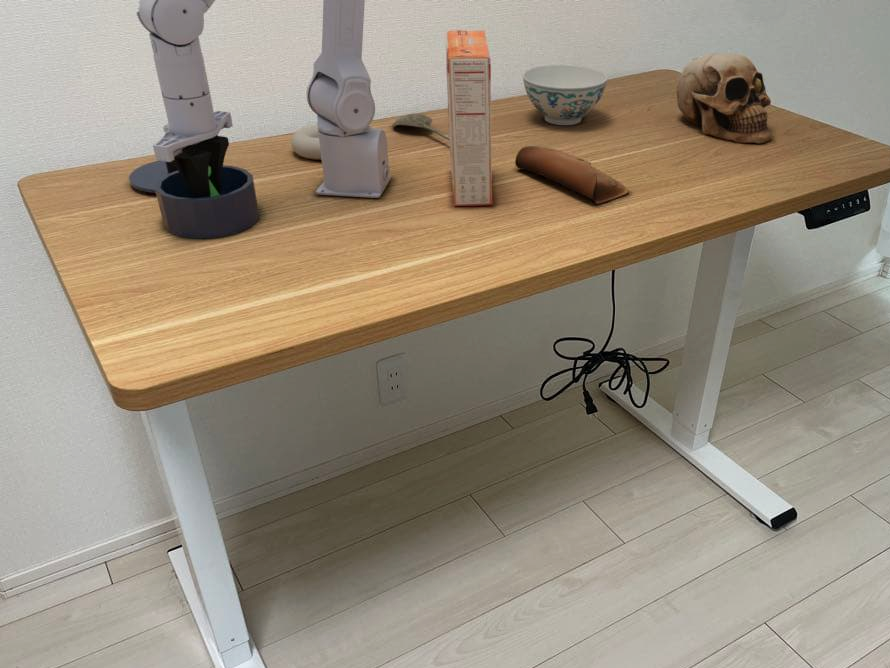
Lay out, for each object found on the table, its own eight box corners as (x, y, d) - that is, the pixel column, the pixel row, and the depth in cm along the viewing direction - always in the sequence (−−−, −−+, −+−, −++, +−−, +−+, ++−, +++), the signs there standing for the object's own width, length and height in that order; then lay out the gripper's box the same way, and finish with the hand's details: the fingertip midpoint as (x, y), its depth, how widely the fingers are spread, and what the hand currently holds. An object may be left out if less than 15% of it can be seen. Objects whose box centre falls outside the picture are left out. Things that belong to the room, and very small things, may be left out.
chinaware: (606, 134, 148) (610, 88, 144) (521, 131, 148) (522, 86, 144) (601, 107, 160) (604, 65, 156) (522, 105, 160) (523, 63, 156)
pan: (258, 198, 122) (252, 161, 119) (259, 234, 113) (252, 195, 110) (168, 205, 120) (159, 168, 116) (161, 242, 110) (151, 203, 107)
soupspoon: (418, 123, 153) (387, 132, 150) (416, 104, 151) (384, 113, 148) (488, 155, 138) (454, 164, 135) (486, 134, 136) (452, 144, 133)
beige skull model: (771, 145, 145) (777, 62, 138) (669, 145, 149) (670, 65, 142) (772, 120, 157) (779, 44, 150) (679, 121, 162) (680, 46, 155)
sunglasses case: (633, 189, 127) (621, 156, 121) (603, 222, 125) (589, 190, 120) (553, 155, 138) (538, 124, 132) (524, 185, 136) (508, 155, 131)
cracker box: (449, 171, 132) (444, 29, 120) (488, 171, 133) (487, 29, 120) (451, 207, 121) (445, 54, 109) (493, 207, 122) (492, 54, 109)
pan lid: (225, 161, 134) (220, 132, 131) (223, 193, 124) (217, 162, 121) (135, 167, 131) (127, 137, 128) (125, 200, 121) (117, 169, 118)
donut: (282, 160, 135) (341, 165, 133) (278, 139, 133) (338, 143, 131) (307, 140, 143) (363, 144, 141) (304, 119, 141) (361, 123, 139)
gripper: (190, 74, 113) (211, 173, 121) (121, 106, 101) (149, 212, 109) (238, 79, 111) (255, 179, 119) (173, 112, 100) (197, 219, 108)
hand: (207, 195), depth 114 cm, fingers closed
